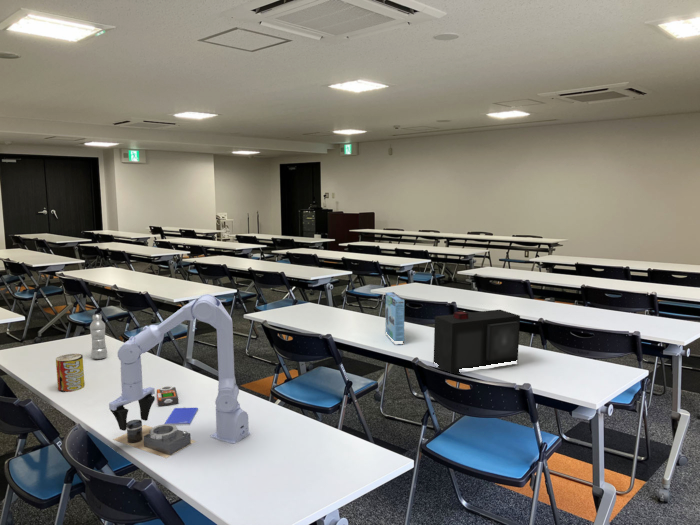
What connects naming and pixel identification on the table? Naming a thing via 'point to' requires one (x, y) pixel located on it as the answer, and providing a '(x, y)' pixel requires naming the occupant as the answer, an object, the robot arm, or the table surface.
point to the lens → (134, 431)
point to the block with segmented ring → (166, 439)
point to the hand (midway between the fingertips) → (133, 424)
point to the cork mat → (141, 444)
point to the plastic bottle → (98, 337)
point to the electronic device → (167, 396)
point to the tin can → (70, 372)
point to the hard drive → (182, 416)
